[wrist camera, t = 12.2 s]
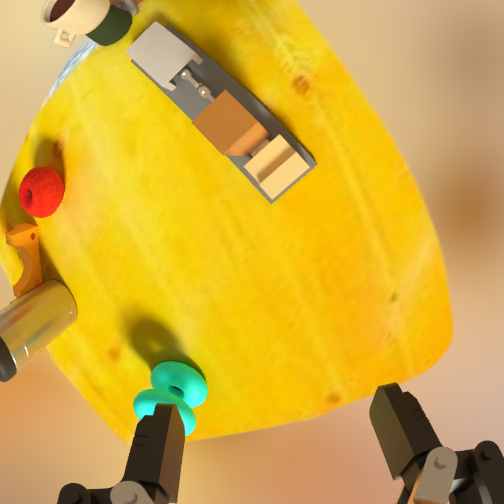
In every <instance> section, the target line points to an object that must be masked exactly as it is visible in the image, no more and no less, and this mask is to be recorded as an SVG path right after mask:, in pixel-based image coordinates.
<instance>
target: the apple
mask: <svg viewBox="0 0 504 504" xmlns="http://www.w3.org/2000/svg"><path fill="white" fill-rule="evenodd" d="M63 195H64V184H63V181H62V179H61V178H60V176H59V175H58V173H57V172H56V171H55V170H54V169H52V168H50V167H36V168H33V169H31V170H30V171H29V172H28V173H27V174H26V175H25V177H24V178H23V180H22V182H21V185H20V189H19V198H20V202H21V205H22V207H23V209H24V210H25V211H26V212H27V213H28V214H30V215H32V216H35V217H39V218H43V217H48V216H50V215H52V214H53V213H54V212H55V211H56V209H57V208H58V207H59V205H60V203H61V202H62V199H63Z"/></svg>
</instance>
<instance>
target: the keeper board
mask: <svg viewBox="0 0 504 504" xmlns="http://www.w3.org/2000/svg"><path fill="white" fill-rule="evenodd" d="M125 53H126V54H127V55H128V56H130V57H131V58H132V60H131V62H132V63H133V64H134V65H135V66H137V67H138V68H139V69H140V70H141V71H142V72H143V73H144V74H145V75H146V76H147V77H148V78H149V79H150V80H151V81H152V82H154V83H155V84H156V85H157V86H158V87H159V88H160V89H161V90H162V91H163V92H164V93H165V94H166V95H167V96H168V97H169V98H170V99H171V100H172V101H173V102H174V103H175V104H176V105H177V106H178V107H179V108H180V109H181V110H182V111H183V112H184V113H185V114H186V115H187V116H188V117H189V118H190V119H191V120H192V121H193V120H194V119H195V118H196V117H197V116H198V115H199V114H200V113H201V112H202V111H203V110H204V109H205V108H206V107H207V106H208V105H209V104H210V103H212V102H211V101H210V100H209V99H205V98H203V97H202V96H201V95H200V94H199V93H198V92H197V91H196V90H195V86H194V85H193V84H192V83H191V82H190V81H189V80H184V79H183V78H181V77H180V76H179V75H178V74H177V73H178V72H179V71H180V70H181V69H182V68H183V67H185V68H186V69H188V70H189V71H190V72H191V73H192V78H194V79H195V80H196V81H197V82H198V83H203V84H204V85H205V86H206V87H207V88H208V89H210V90H211V92H212V96H213V97H214V98H215V99H216V98H217V97H218V96H219V95H220V94H221V93H222V92H223V91H224V90H226V91H227V92H228V93H230V94H231V95H232V96H233V97H234V98H235V99H236V100H237V101H238V102H239V103H240V104H241V105H242V106H243V107H244V108H245V109H246V110H247V111H248V112H249V113H250V114H251V115H252V116H253V117H254V118H255V119H256V120H257V121H258V122H259V123H260V124H261V125H262V126H263V127H264V129H265V130H266V131H267V132H268V133H269V134H270V135H271V137H270V138H269V139H268V140H269V141H270V143H269V144H268V145H267V146H266V147H265V148H263V149H262V150H261V151H260V152H259V153H258V154H257V155H256V156H255V157H253V156H252V155H250V156H249V157H244V156H232V155H226V156H227V157H228V158H229V159H230V160H231V161H232V162H233V163H234V164H235V165H236V166H237V167H238V168H239V170H240V171H241V172H242V173H243V174H244V175H245V176H246V177H247V178H248V179H249V180H250V181H251V182H252V184H253V185H254V186H255V187H256V188H257V189H258V190H259V191H260V192H261V193H262V195H263V196H264V197H265V198H266V199H267V200H268V201H269V202H270V203H271V204H272V203H273V202H274V201H276V200H277V199H278V198H279V197H280V196H281V195H282V194H284V193H285V192H286V191H287V190H288V189H289V188H291V187H292V186H293V185H294V184H295V183H296V182H297V181H299V180H300V179H301V178H302V177H303V176H304V175H306V174H307V173H308V172H309V171H310V170H312V169H313V168H314V167H315V166H316V165H317V163H316V162H315V161H314V160H313V158H312V157H311V156H310V155H309V154H308V153H307V152H306V151H305V149H304V148H303V147H302V146H301V145H300V144H299V143H298V142H297V141H296V140H295V139H294V137H293V136H292V135H291V134H290V133H289V132H288V131H287V130H286V129H285V128H284V127H283V126H282V125H281V124H280V123H279V122H278V121H277V120H276V119H275V118H274V117H273V116H272V115H271V114H270V113H269V112H268V111H267V110H266V109H265V108H264V107H263V106H262V105H261V104H260V103H259V102H258V101H257V100H256V99H255V98H254V97H253V96H252V95H251V94H250V93H249V92H248V91H247V90H246V89H245V88H244V87H243V86H242V85H241V84H239V83H238V82H237V81H236V80H235V79H234V78H233V77H232V76H231V75H230V74H228V73H227V72H226V71H225V70H224V69H223V68H222V67H221V66H219V65H218V64H217V63H216V62H215V61H214V60H212V59H211V58H210V57H209V56H208V55H207V54H205V53H204V52H203V51H202V50H201V49H199V48H198V47H197V46H196V45H194V44H193V43H192V42H191V41H189V40H188V39H187V38H186V37H184V36H183V35H182V34H181V33H179V32H178V31H177V30H175V29H174V28H173V27H171V26H170V25H169V24H167V25H166V26H165V27H163V26H162V25H160V24H159V23H158V22H156V21H155V22H154V23H153V24H152V25H151V26H150V27H149V28H148V29H147V30H146V31H145V32H144V33H143V34H142V35H141V36H140V37H139V38H138V39H137V40H136V41H135V42H134V43H133V44H132V45H131V46H130V47H129V48H128V49H127V50H126V51H125Z"/></svg>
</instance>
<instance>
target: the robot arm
mask: <svg viewBox="0 0 504 504" xmlns="http://www.w3.org/2000/svg"><path fill="white" fill-rule="evenodd" d="M76 319H77V307H76V303H75V301H74V298H73V297H72V295H71V293H70V292H69V290H68V289H67V288H66V287H65V286H64V285H63V284H62V283H61V282H59V281H57V280H54V279H51V280H48V281H47V282H45V283H43V282H42V283H40V284H39V285H37V286H35V287H34V288H32V289H31V290H29V291H27V292H26V293H24V294H22V295H21V296H19V297H18V298H16V299H15V300H13V301H11V302H10V305H8V306H7V307H5V308H4V309H3V310H1V311H0V381H2V382H7V381H8V380H10V379H11V378H12V377H13V376H14V375H15V374H16V373H17V372H18V371H19V370H21V369H22V367H24V366H25V365H26V364H27V363H28V362H29V361H30V360H31V359H32V358H34V357H35V356H36V355H37V354H38V353H39V352H40V351H41V350H43V349H44V348H45V347H46V346H47V345H48V344H49V343H51V342H52V341H53V340H54V339H55V338H56V337H58V336H59V335H60V334H61V333H62V332H63V331H65V330H66V329H67V328H68V327H69V326H70V325H72V324H73V323H74V322H75V321H76ZM370 419H371V422H372V425H373V427H374V430H375V433H376V435H377V438H378V440H379V443H380V446H381V448H382V451H383V454H384V456H385V459H386V461H387V464H388V467H389V470H390V472H391V475H392V478H393V480H396V479H399V478H403V481H404V483H403V484H402V487H401V489H400V492H399V494H398V496H397V499H396V501H395V503H394V504H447V501H448V499H449V502H450V504H504V457H503V456H502V453H501V451H500V449H499V447H498V446H497V445H496V444H495V443H494V442H492V441H483V442H481V443H479V444H478V445H477V446H476V447H475V449H471V450H465V451H453V450H452V449H450V448H448V447H443V446H442V444H441V443H440V441H439V439H438V437H437V435H436V434H435V432H434V430H433V428H432V426H431V424H430V422H429V420H428V418H427V417H426V415H425V413H424V411H423V410H422V408H421V406H420V404H419V402H418V400H417V399H416V398H415V397H414V396H413V395H412V394H410V393H409V392H408V391H407V392H404V393H403V392H402V390H401V389H400V387H399V385H398V384H397V383H395V382H394V383H390V384H386V385H382V386H379V387H378V388H377V390H376V393H375V396H374V399H373V401H372V404H371V407H370ZM134 435H135V437H134V438H133V442H132V446H131V449H130V453H129V457H128V461H127V465H126V469H125V473H124V476H123V478H122V480H121V481H120V482H119V483H118V484H116V485H115V486H114V487H111V488H107V489H86V488H85V487H84V486H82V485H80V484H77V483H70V484H67V485H65V486H64V487H63V488H62V489H61V491H60V494H59V498H58V502H57V504H169V503H177V498H178V489H179V480H180V472H181V464H182V456H183V449H184V442H185V426H184V423H183V420H182V418H181V415H180V413H179V410H178V407H177V405H176V404H168V403H157V404H156V405H155V408H154V412H153V415H144V416H143V418H142V419H141V420H140V421H139V423H138V424H137V427H136V431H135V434H134Z"/></svg>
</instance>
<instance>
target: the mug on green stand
mask: <svg viewBox="0 0 504 504" xmlns="http://www.w3.org/2000/svg"><path fill="white" fill-rule="evenodd" d="M41 22H42V23H43V25H45V26H46V27H49V28H52V29H55V30H57V31H56V34H55V36H54V39H53V42H54V43H55V44H57V45H60V46H63V47H66V48H67V47H70V46H71V45H72V43H73V40H74V38H75V36H81V35H84V34H85V35H86V36H88V37H89V38H90V39H92V40H93V41H95V42H96V43H98V44H99V45H103V46H107V45H111V44H114V43H115V42H117V41H118V40H120V39H121V38H122V37H123V36H124V35H125V34H126V33H127V32H128V30H129V28H130V26H131V16H130V15H129V14H128V12H126V11H124V10H122V9H120V8H118V7H115V6H113V5H110V0H47V2H46V3H45V5H44V7H43V10H42V13H41ZM63 33H65V34H68V38H67V40H65V39H62V38H61V37H62V34H63Z"/></svg>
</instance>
